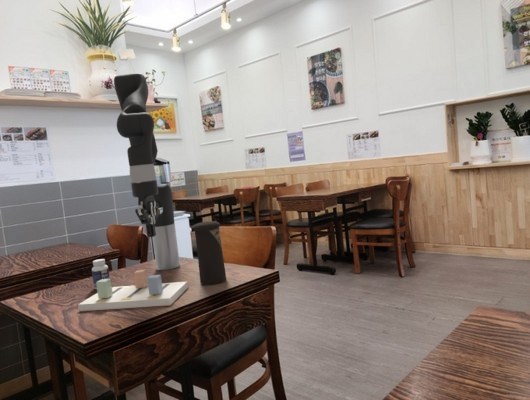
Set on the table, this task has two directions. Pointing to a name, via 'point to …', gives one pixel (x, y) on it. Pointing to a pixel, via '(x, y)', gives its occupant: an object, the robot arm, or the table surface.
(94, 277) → the pill bottle
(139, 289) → the panel
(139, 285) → the terracotta lever
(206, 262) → the container
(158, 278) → the slate lever
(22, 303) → the table surface
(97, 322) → the table surface
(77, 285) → the table surface
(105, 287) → the sage lever
